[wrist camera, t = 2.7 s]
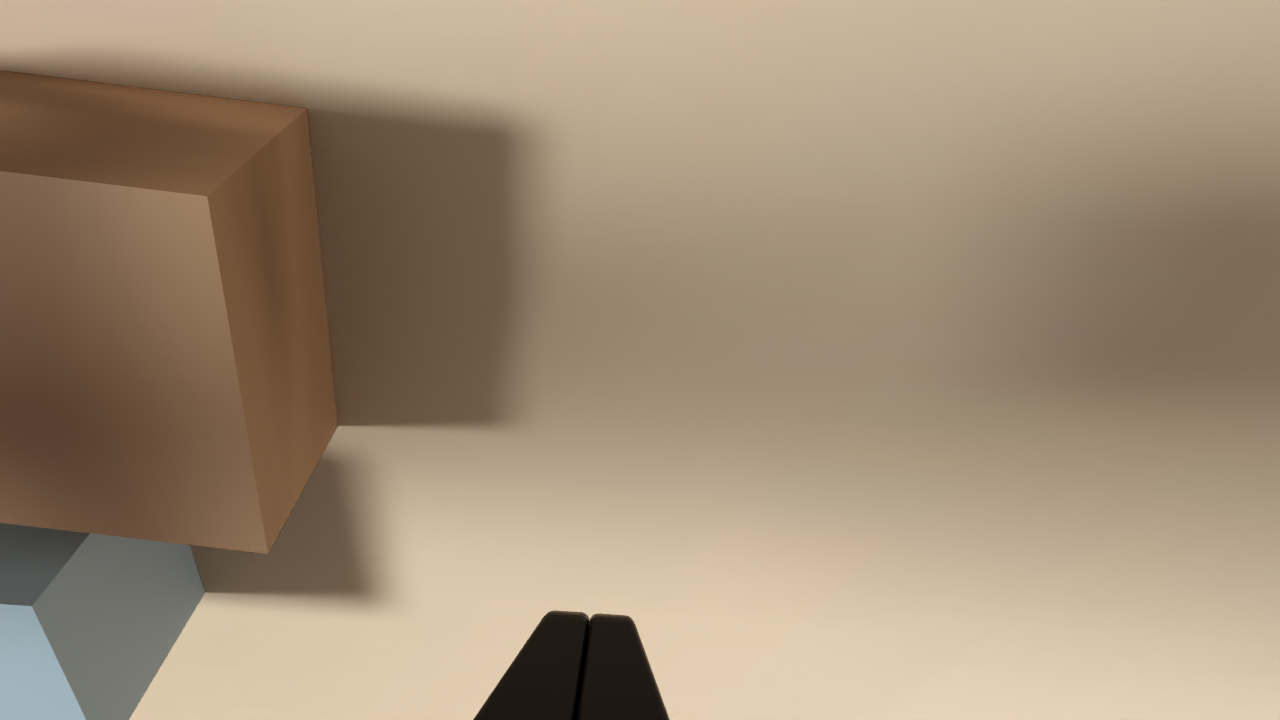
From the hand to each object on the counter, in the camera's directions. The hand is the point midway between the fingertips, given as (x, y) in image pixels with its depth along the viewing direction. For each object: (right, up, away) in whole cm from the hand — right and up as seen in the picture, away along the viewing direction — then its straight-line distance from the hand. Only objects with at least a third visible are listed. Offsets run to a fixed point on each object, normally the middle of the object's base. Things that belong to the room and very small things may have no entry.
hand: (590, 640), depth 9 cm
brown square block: (-8, +5, +6) cm, 11 cm away
